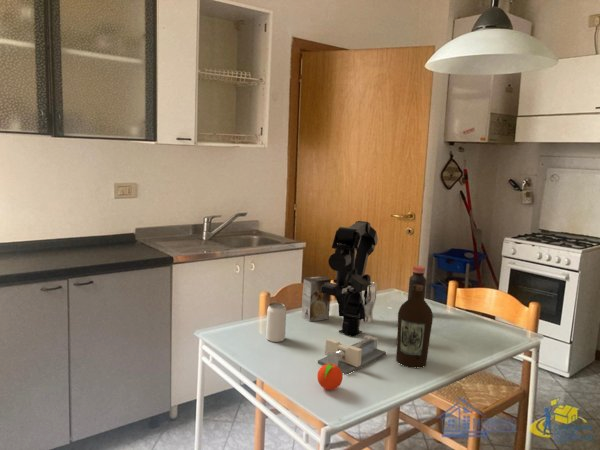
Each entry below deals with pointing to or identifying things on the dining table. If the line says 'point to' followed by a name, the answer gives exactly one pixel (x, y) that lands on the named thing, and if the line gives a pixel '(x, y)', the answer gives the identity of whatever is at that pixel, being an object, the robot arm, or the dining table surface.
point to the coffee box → (315, 299)
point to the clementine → (329, 376)
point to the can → (276, 322)
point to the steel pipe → (367, 343)
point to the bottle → (417, 279)
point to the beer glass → (369, 302)
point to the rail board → (366, 358)
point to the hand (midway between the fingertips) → (342, 310)
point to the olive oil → (414, 330)
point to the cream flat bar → (351, 352)
